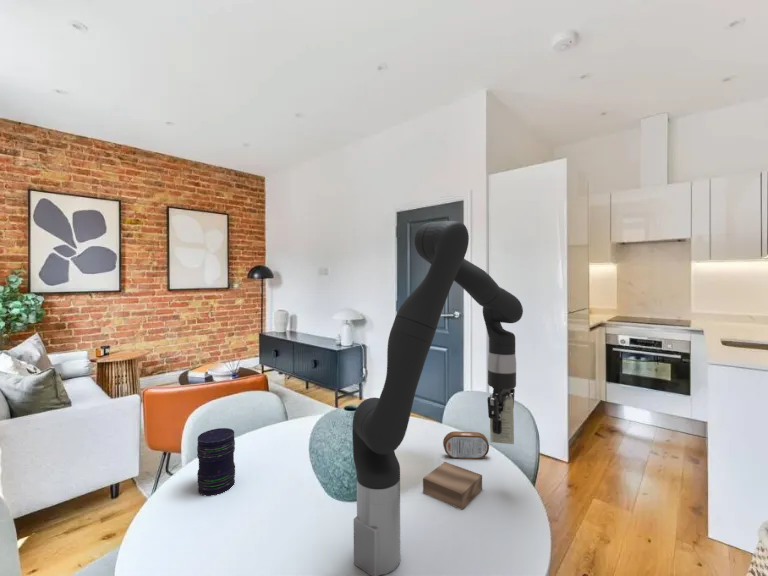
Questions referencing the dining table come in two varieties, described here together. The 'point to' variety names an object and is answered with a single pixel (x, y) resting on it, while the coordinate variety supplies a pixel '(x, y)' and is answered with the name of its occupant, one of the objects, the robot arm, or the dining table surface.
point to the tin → (466, 445)
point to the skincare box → (504, 425)
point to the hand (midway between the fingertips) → (501, 429)
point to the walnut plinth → (452, 484)
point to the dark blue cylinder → (216, 461)
